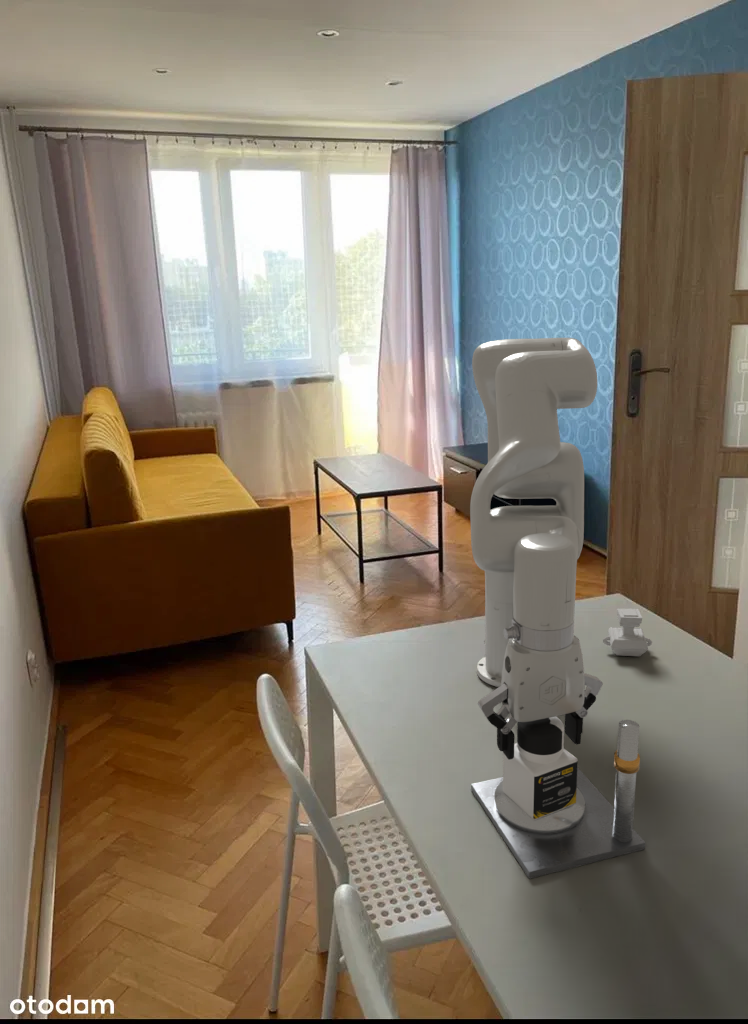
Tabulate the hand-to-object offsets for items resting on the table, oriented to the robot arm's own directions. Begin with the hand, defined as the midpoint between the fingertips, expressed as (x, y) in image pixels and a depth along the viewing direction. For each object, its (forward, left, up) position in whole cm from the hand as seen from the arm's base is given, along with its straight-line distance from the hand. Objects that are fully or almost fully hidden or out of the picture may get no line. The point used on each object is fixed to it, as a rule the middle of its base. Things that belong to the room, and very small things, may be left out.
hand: (539, 745), depth 104 cm
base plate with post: (+3, +1, -10) cm, 10 cm away
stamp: (-35, +37, -10) cm, 52 cm away
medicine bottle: (+1, 0, -8) cm, 8 cm away
